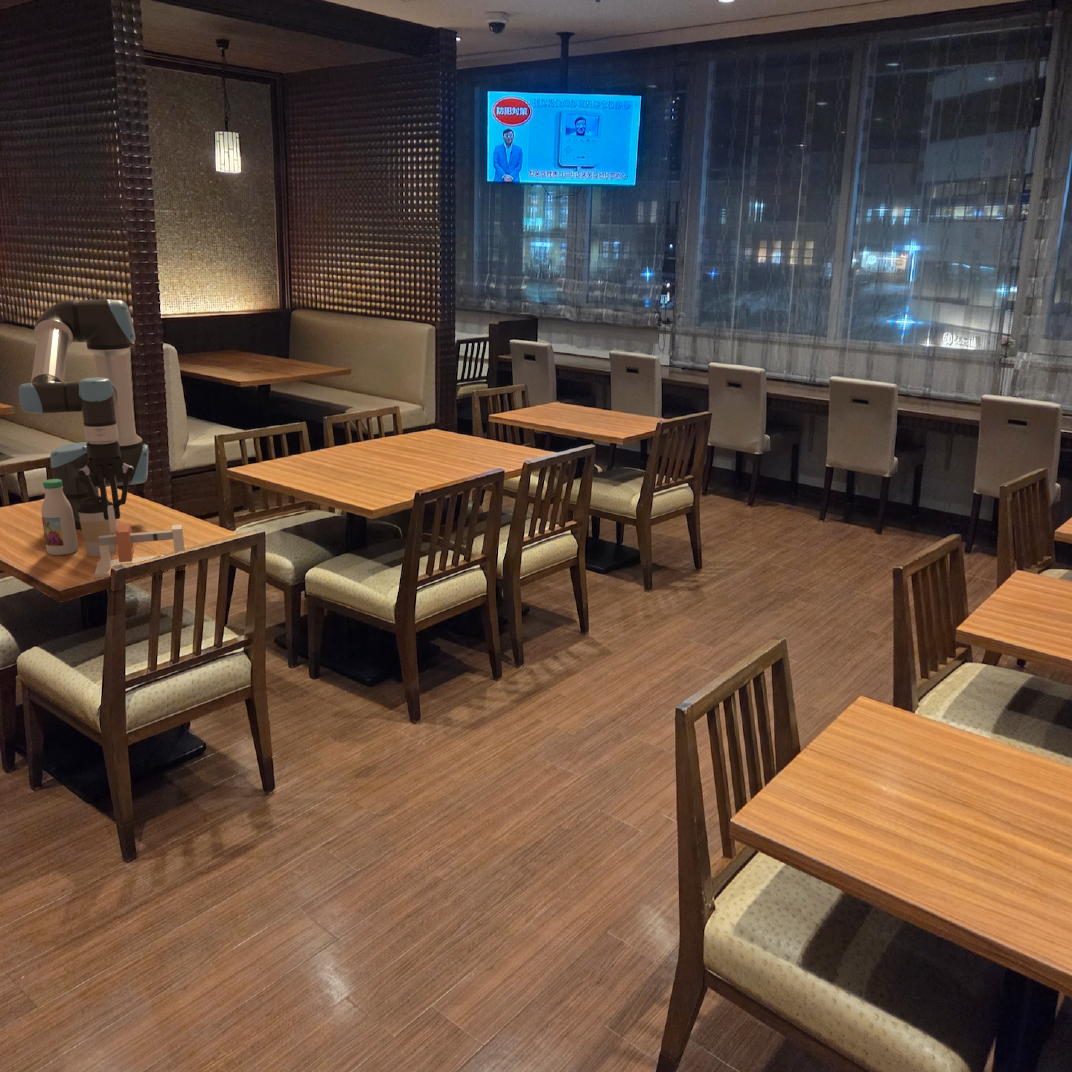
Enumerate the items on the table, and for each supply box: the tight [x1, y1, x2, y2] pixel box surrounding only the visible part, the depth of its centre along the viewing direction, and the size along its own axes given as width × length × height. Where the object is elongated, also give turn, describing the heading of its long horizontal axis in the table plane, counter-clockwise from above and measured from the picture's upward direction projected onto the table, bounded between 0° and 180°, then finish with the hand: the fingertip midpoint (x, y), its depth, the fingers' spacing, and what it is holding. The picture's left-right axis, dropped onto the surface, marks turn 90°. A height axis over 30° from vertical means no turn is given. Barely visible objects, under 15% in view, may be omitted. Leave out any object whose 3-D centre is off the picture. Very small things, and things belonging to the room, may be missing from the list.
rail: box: [94, 523, 188, 578], centre depth 249 cm, size 11×22×10 cm, turn 109°
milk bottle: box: [41, 478, 79, 556], centre depth 258 cm, size 8×8×20 cm
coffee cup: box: [77, 495, 116, 558], centre depth 258 cm, size 9×9×15 cm
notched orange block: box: [115, 522, 135, 562], centre depth 247 cm, size 8×3×8 cm, turn 19°
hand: (114, 531), depth 246 cm, fingers closed
